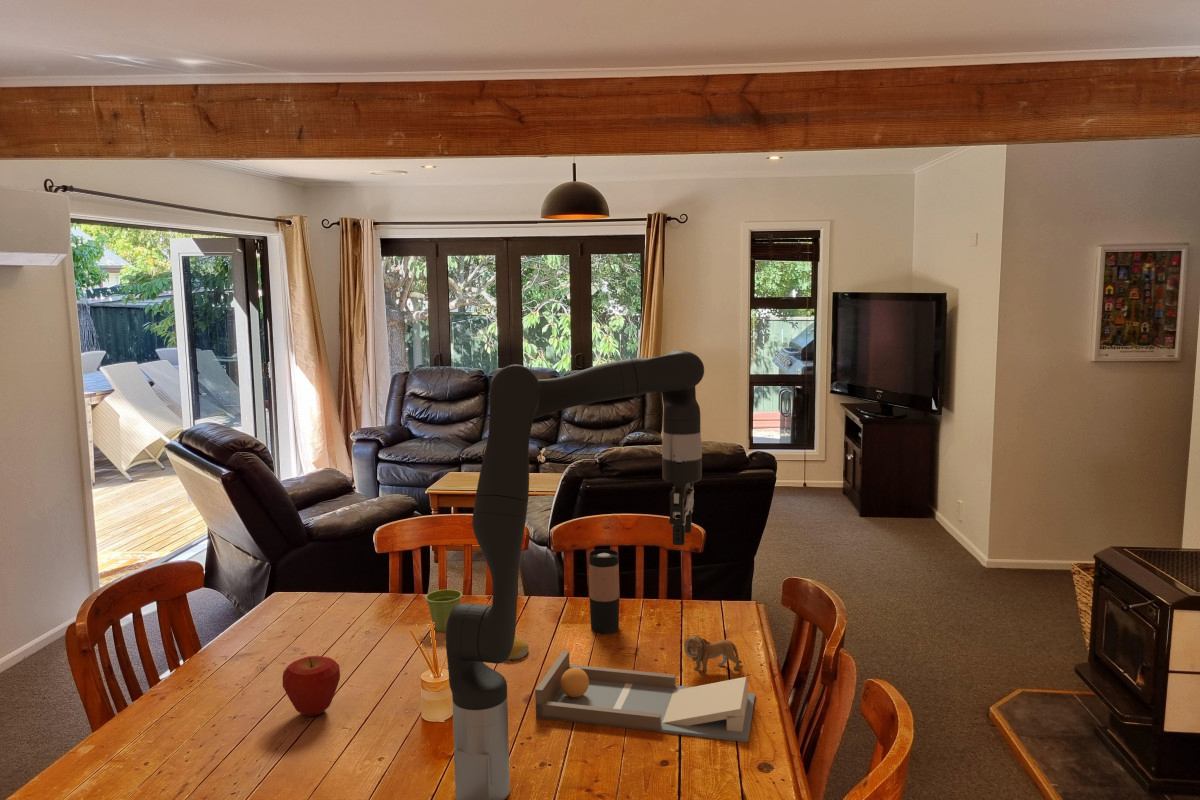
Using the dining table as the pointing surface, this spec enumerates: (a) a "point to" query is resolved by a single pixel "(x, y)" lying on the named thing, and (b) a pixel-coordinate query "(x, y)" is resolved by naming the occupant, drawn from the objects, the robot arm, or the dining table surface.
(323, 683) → the apple
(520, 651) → the bread roll
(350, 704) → the dining table surface
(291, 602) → the dining table surface
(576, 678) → the rubber ball
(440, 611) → the plant pot
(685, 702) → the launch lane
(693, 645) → the lion figurine
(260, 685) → the dining table surface
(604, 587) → the travel mug
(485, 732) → the robot arm
